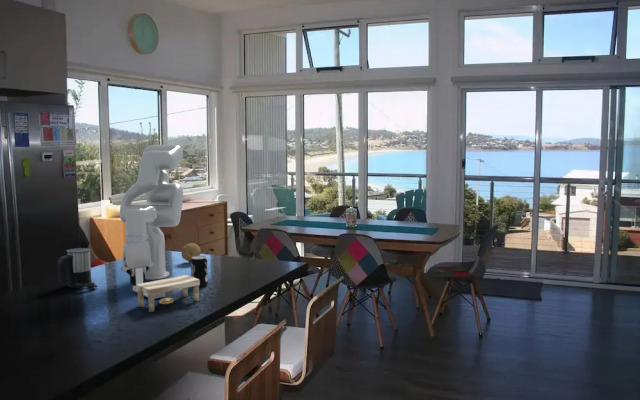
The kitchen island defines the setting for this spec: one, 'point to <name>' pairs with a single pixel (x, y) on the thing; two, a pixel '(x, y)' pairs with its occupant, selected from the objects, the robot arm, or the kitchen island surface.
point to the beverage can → (199, 269)
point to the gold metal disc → (166, 301)
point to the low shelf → (166, 288)
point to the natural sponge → (190, 251)
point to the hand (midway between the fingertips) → (138, 283)
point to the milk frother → (76, 268)
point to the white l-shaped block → (140, 280)
